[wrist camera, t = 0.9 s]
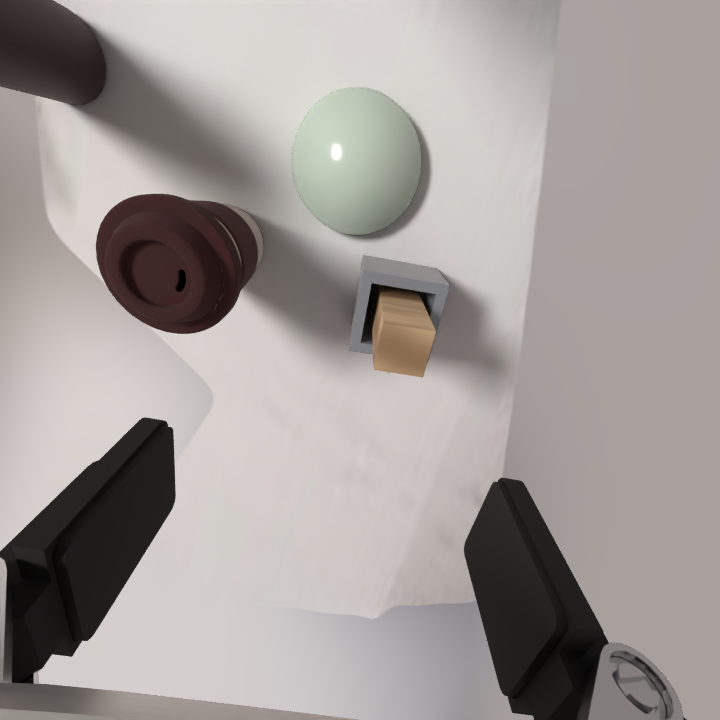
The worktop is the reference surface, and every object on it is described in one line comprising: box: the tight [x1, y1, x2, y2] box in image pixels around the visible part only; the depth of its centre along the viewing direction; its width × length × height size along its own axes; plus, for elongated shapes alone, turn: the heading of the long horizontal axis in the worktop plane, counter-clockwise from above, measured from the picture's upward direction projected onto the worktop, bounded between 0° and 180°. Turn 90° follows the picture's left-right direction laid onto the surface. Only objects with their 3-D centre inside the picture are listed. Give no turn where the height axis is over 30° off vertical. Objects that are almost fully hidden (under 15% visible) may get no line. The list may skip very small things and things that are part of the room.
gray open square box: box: [349, 255, 450, 363], centre depth 37 cm, size 8×8×7 cm
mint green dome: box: [292, 87, 422, 235], centre depth 34 cm, size 12×12×1 cm
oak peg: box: [371, 284, 436, 377], centre depth 34 cm, size 4×4×14 cm
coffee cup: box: [96, 194, 264, 334], centre depth 31 cm, size 10×10×15 cm
